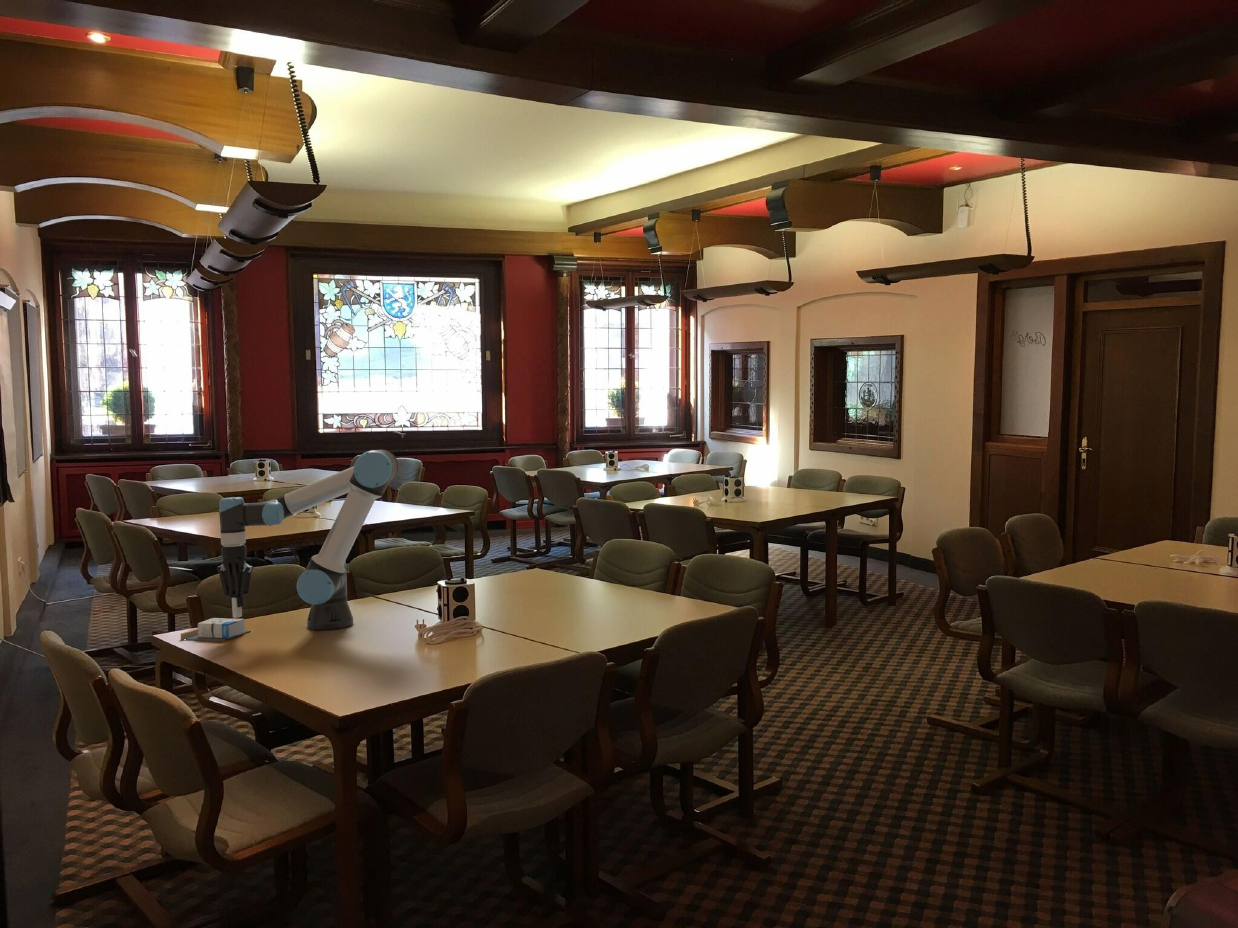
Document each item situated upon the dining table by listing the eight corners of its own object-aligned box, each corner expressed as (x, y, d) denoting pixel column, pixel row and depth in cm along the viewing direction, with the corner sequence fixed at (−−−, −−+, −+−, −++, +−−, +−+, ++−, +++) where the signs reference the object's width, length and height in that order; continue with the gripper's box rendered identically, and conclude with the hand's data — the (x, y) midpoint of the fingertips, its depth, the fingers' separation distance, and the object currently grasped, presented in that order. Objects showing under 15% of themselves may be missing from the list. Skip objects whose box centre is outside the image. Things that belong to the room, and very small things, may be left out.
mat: (250, 631, 317) (250, 625, 317) (219, 642, 302) (219, 635, 302) (213, 629, 321) (213, 623, 321) (180, 639, 307) (180, 633, 307)
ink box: (228, 623, 305) (196, 622, 307) (229, 639, 305) (197, 637, 307) (244, 618, 313) (213, 616, 316) (245, 632, 313) (213, 631, 316)
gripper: (258, 543, 310) (261, 615, 311) (225, 543, 314) (228, 613, 315) (242, 546, 303) (246, 619, 304) (208, 546, 307) (212, 618, 308)
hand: (237, 616), depth 309 cm, fingers closed
